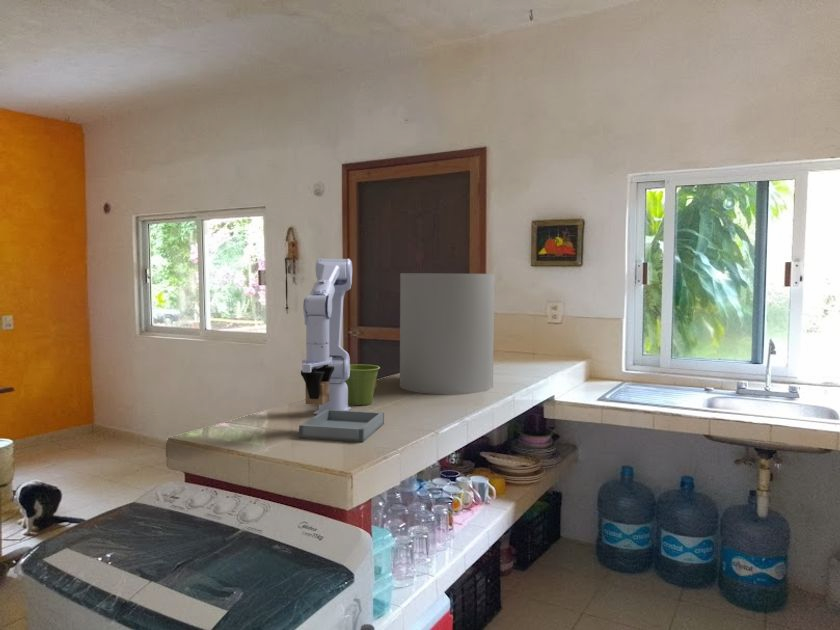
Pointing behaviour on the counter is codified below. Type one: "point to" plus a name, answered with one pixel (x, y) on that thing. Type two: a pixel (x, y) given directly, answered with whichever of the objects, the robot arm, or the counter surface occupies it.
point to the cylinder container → (446, 332)
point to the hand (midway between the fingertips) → (318, 396)
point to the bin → (342, 425)
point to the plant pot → (361, 384)
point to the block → (320, 395)
